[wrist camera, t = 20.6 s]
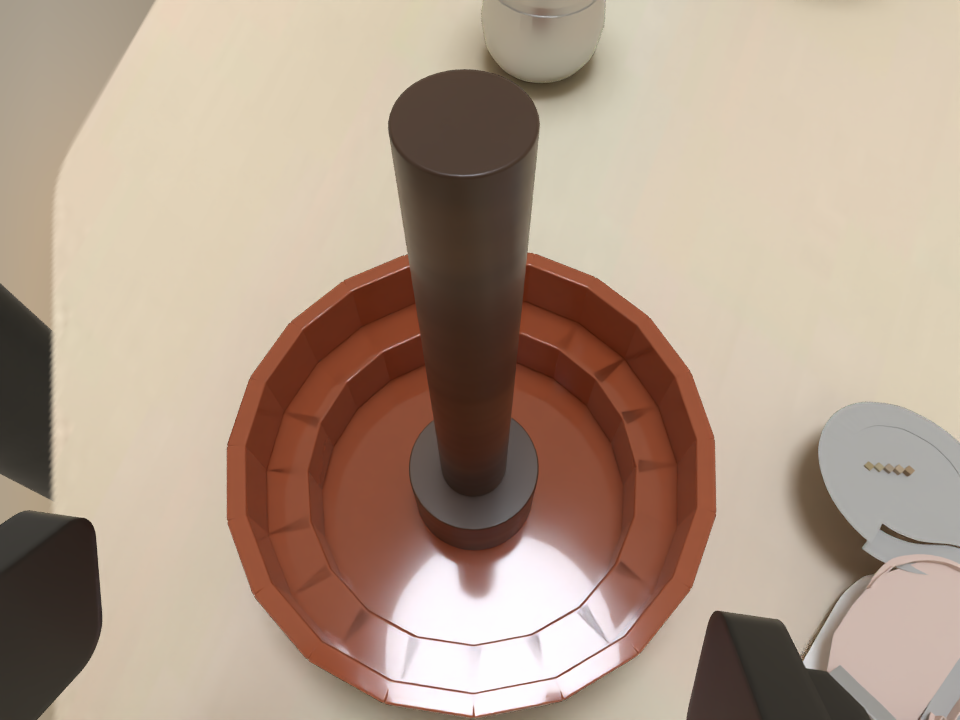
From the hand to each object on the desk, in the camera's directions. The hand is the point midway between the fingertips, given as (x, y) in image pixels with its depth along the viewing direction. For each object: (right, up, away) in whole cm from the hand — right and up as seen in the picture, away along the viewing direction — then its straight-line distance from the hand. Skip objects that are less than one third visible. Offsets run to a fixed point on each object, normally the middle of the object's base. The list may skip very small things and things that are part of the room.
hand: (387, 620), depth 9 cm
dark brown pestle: (+1, -2, +17) cm, 17 cm away
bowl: (+1, -2, +18) cm, 18 cm away
